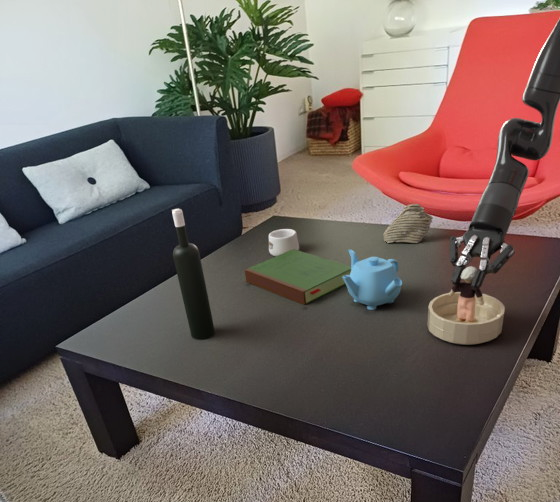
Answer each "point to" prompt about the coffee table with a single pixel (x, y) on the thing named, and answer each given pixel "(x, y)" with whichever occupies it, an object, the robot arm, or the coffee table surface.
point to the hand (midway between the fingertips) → (464, 286)
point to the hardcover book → (298, 276)
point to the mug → (282, 241)
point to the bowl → (448, 329)
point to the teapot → (373, 280)
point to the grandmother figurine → (467, 296)
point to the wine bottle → (192, 282)
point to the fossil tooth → (409, 225)
